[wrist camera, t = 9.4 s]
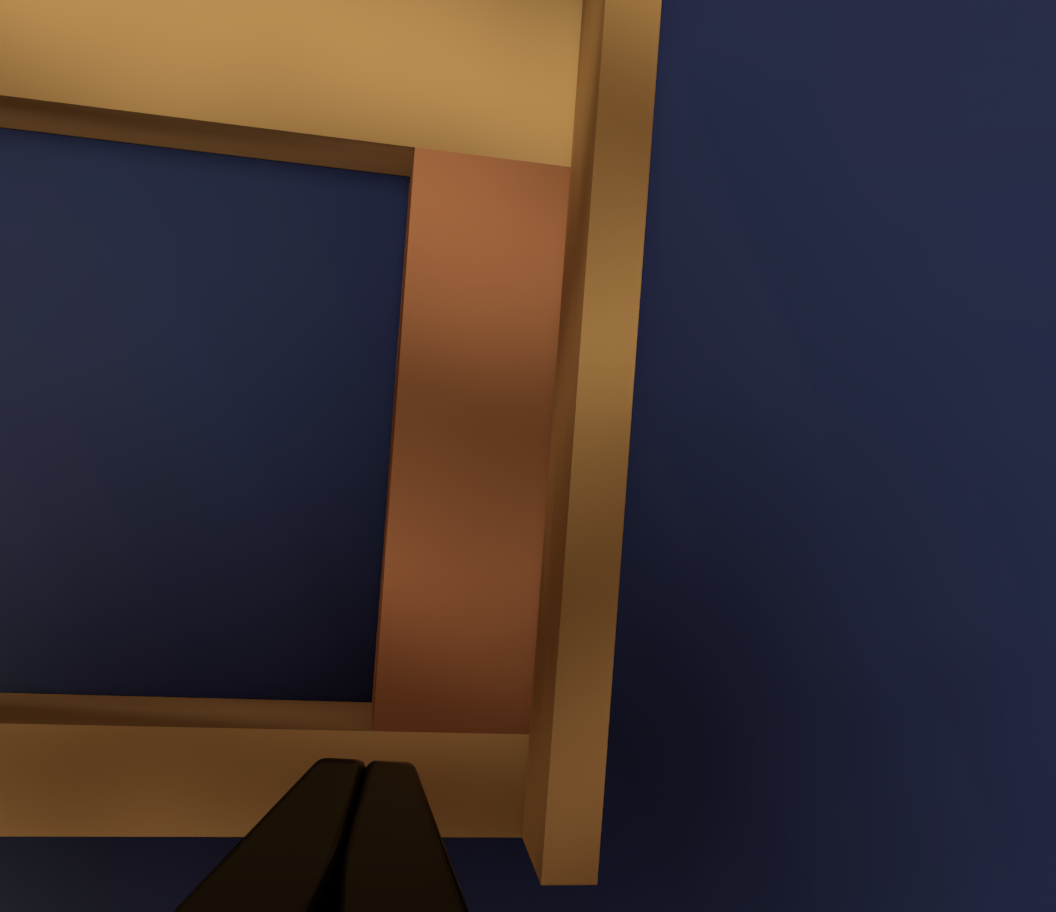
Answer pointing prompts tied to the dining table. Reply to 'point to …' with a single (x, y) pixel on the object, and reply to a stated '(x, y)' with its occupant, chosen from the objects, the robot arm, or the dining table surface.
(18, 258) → the dining table surface
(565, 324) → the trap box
